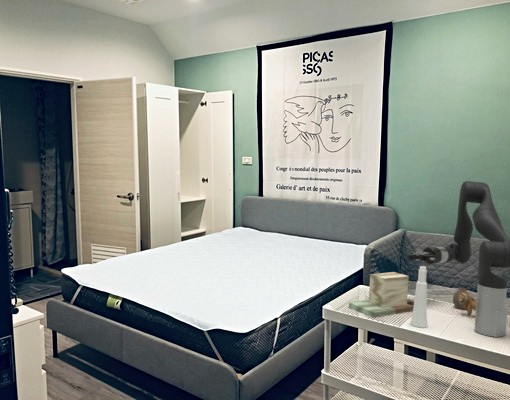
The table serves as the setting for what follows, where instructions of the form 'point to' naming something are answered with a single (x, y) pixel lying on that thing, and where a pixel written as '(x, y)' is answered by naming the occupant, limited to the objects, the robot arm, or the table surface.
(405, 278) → the maple block
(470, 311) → the lion figurine
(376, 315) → the trap box
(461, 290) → the vase
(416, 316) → the cosmetic bottle
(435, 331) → the table surface
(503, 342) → the table surface
